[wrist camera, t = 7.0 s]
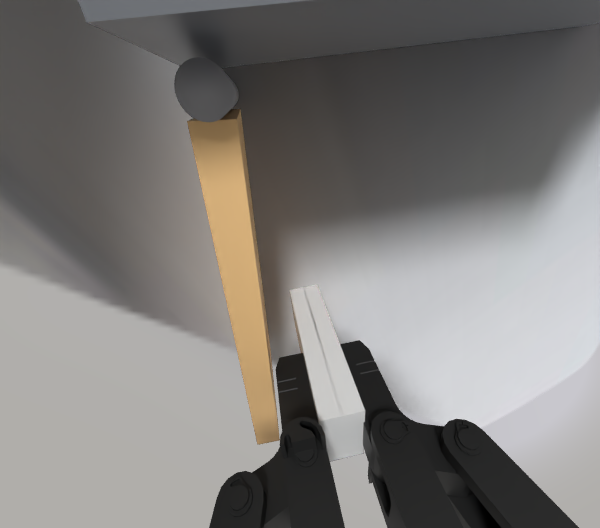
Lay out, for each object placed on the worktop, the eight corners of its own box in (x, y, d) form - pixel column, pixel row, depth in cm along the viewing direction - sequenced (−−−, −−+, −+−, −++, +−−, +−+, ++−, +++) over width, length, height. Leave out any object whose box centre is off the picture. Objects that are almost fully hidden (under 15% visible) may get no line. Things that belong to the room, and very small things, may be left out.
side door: (208, 78, 10) (167, 57, 5) (236, 77, 10) (227, 56, 5) (253, 345, 17) (257, 457, 12) (269, 342, 18) (280, 452, 12)
